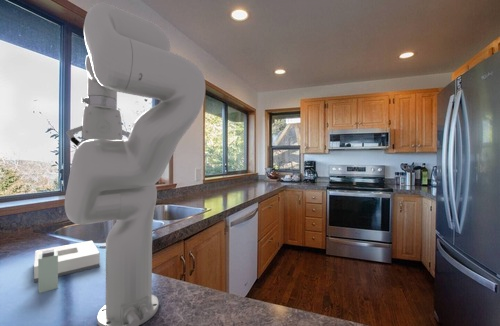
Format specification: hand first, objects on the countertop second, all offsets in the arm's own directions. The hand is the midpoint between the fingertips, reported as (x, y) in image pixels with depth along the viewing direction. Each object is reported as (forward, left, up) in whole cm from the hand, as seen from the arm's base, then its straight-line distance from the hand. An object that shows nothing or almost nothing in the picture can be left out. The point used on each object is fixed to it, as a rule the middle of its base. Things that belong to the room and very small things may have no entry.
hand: (102, 161), depth 72 cm
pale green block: (+1, +12, -35) cm, 37 cm away
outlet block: (+15, +7, -35) cm, 39 cm away
